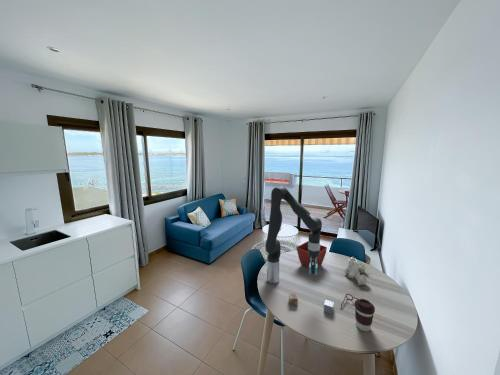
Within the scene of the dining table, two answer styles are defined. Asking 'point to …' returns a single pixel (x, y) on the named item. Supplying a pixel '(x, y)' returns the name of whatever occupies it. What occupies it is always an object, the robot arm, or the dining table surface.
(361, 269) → the chinaware
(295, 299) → the walnut block
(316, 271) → the teal block
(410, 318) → the dining table surface
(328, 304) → the slate gray block
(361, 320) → the coffee cup
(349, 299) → the glasses
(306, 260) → the plant pot
